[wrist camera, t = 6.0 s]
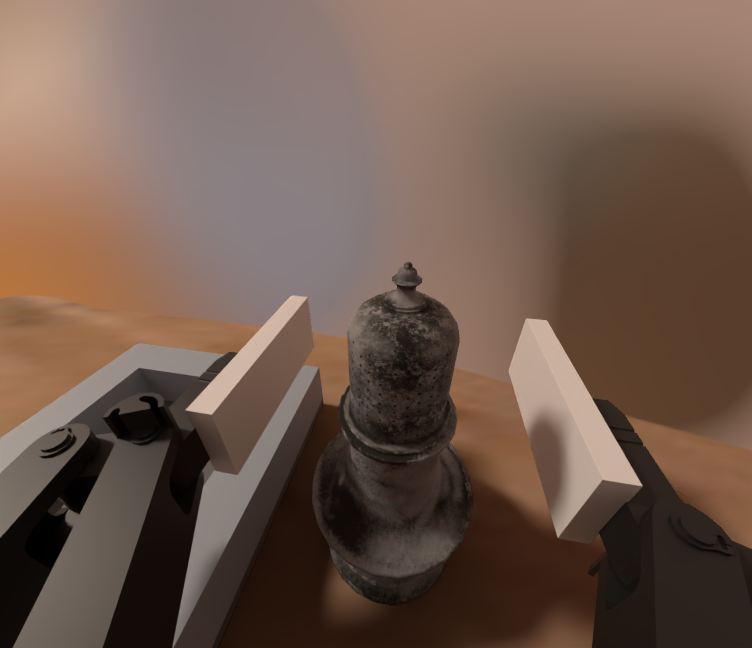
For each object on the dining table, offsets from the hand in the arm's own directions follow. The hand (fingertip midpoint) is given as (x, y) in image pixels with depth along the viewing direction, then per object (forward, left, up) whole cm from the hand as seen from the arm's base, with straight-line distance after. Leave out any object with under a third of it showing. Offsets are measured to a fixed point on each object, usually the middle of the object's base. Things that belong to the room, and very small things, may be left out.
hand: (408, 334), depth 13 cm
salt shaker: (0, +5, -7) cm, 9 cm away
